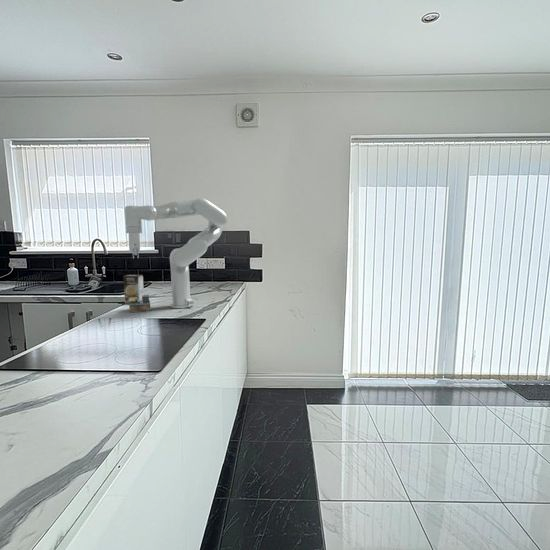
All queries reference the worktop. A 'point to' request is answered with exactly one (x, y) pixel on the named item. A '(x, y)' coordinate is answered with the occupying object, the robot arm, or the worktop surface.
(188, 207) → the robot arm
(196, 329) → the worktop surface
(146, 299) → the instrument plate
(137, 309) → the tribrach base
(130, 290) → the coffee box
